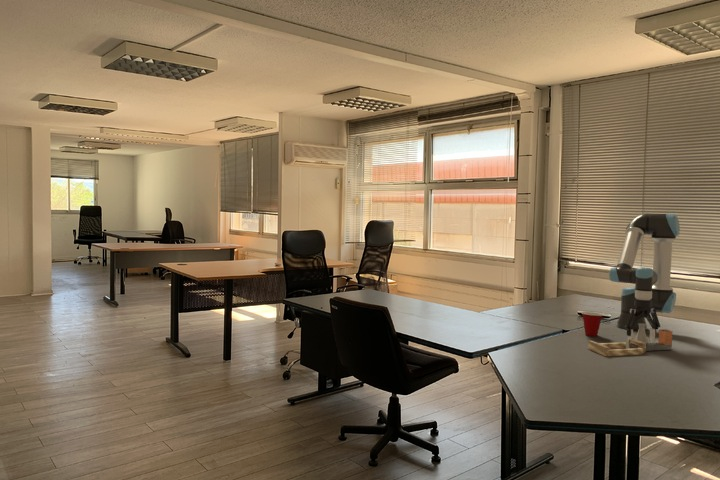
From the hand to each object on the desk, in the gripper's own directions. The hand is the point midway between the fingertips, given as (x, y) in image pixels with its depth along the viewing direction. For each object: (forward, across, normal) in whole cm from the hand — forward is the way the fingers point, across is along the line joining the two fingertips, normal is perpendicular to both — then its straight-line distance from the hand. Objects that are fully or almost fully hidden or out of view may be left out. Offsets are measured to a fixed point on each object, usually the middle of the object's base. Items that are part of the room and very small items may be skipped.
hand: (641, 341), depth 270 cm
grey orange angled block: (+1, +4, +11) cm, 12 cm away
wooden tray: (+1, +22, +11) cm, 25 cm away
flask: (+1, 0, 0) cm, 1 cm away
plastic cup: (+1, +13, -21) cm, 25 cm away
